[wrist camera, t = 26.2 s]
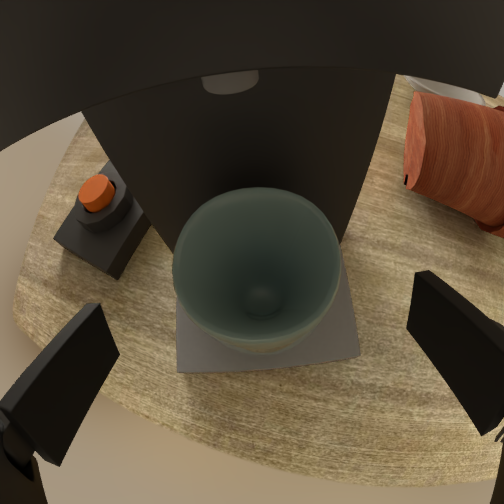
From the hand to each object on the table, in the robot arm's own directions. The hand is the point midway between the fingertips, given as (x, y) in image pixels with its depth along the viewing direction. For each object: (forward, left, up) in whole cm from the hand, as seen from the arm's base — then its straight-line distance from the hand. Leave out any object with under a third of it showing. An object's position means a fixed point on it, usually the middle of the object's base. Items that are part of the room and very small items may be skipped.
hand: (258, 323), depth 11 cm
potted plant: (+23, +24, -12) cm, 36 cm away
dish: (+13, +46, -12) cm, 49 cm away
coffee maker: (-3, +5, -12) cm, 13 cm away
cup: (-1, +3, -11) cm, 11 cm away
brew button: (-21, +6, -8) cm, 23 cm away
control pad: (-21, +6, -12) cm, 25 cm away
